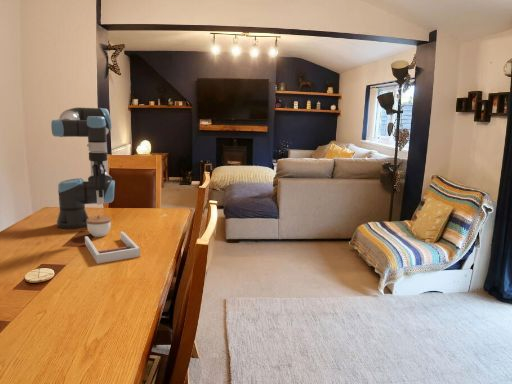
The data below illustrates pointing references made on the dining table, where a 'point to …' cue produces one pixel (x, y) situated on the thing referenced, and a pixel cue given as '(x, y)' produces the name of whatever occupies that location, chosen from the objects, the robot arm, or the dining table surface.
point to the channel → (115, 254)
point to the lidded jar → (98, 225)
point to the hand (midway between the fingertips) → (100, 203)
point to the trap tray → (114, 249)
